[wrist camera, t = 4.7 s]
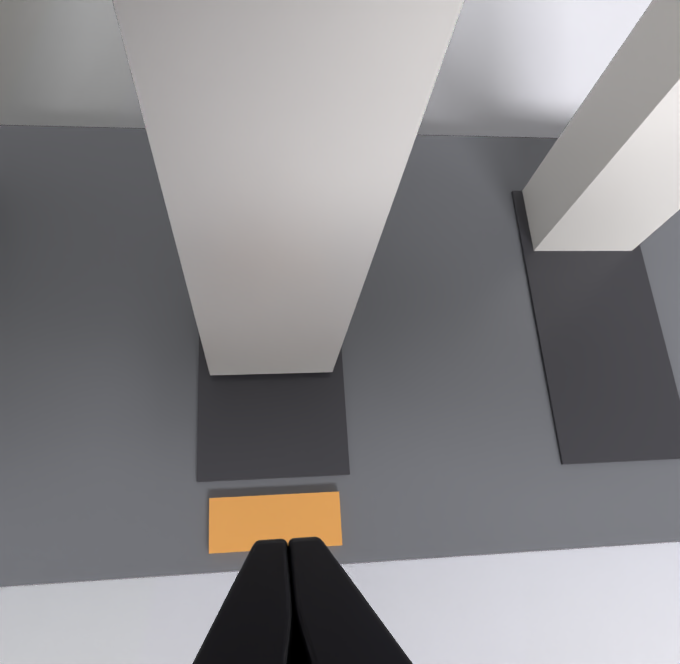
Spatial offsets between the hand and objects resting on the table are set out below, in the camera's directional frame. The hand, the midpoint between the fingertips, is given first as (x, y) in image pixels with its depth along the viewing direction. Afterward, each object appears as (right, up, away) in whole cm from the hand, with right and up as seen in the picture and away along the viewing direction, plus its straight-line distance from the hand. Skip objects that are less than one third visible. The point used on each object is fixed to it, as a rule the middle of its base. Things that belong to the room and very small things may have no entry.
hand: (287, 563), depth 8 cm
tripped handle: (-1, +3, +8) cm, 8 cm away
